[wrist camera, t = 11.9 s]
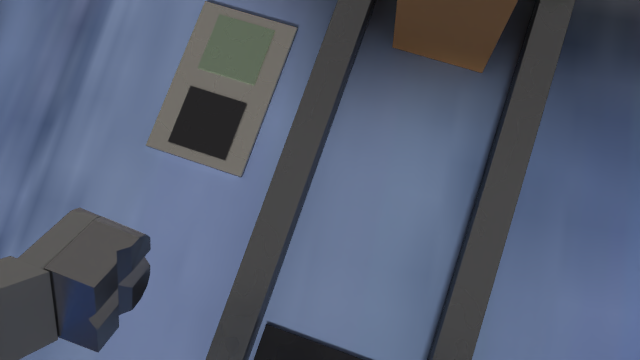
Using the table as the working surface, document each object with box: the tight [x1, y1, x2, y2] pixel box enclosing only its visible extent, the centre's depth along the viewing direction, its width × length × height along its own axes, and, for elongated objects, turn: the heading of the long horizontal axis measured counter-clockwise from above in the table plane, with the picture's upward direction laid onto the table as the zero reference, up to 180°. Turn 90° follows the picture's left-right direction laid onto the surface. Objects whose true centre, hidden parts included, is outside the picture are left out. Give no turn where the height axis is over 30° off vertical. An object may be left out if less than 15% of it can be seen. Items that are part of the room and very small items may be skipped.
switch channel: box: [146, 0, 575, 360], centre depth 26 cm, size 24×17×4 cm
